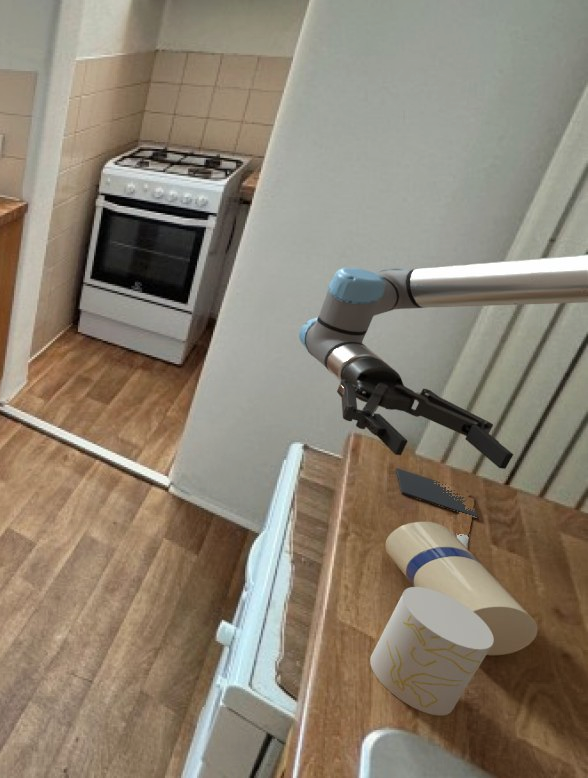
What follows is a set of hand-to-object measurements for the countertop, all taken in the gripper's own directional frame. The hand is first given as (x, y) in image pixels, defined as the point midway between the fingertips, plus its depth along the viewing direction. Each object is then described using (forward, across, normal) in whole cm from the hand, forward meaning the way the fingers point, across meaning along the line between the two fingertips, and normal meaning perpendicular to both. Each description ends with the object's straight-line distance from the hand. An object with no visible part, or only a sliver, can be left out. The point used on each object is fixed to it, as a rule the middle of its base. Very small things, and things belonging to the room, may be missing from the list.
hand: (453, 454), depth 88 cm
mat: (-17, -15, -20) cm, 30 cm away
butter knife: (-6, -13, -21) cm, 25 cm away
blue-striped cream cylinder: (+9, 0, -20) cm, 22 cm away
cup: (+22, +12, -20) cm, 33 cm away
